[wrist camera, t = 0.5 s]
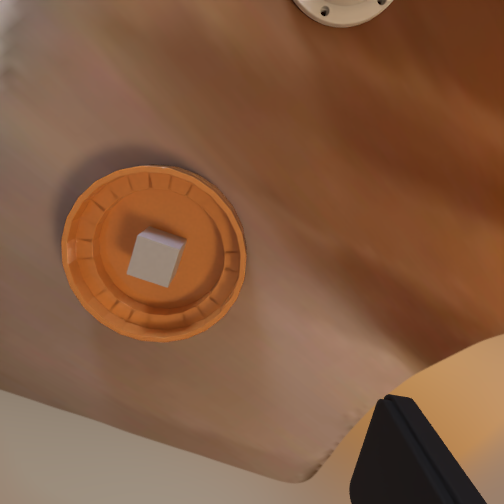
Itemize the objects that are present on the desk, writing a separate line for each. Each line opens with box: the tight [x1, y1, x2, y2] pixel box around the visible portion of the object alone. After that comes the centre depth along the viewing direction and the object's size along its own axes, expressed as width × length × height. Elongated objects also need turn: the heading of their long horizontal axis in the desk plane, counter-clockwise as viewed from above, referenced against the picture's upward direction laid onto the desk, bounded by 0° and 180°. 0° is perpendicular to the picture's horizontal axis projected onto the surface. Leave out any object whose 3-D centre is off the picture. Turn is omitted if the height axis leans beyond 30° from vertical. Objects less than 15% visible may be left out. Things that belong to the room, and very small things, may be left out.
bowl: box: [61, 164, 246, 342], centre depth 39 cm, size 19×19×4 cm
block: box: [127, 226, 187, 288], centre depth 39 cm, size 4×4×4 cm
